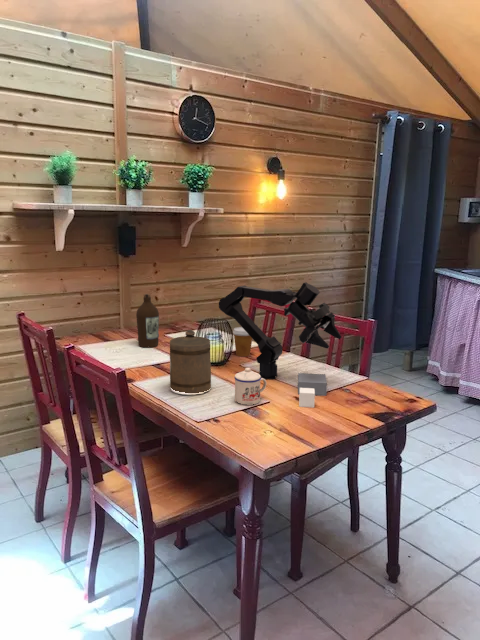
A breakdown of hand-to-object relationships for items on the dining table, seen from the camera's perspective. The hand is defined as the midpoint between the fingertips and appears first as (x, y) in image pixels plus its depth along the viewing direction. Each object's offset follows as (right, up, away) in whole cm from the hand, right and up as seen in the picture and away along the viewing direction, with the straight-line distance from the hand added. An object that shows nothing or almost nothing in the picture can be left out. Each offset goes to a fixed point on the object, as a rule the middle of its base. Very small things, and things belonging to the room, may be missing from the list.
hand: (334, 342), depth 179 cm
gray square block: (-8, -18, +3) cm, 20 cm away
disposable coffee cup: (-33, -8, +47) cm, 58 cm away
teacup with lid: (-30, -20, -7) cm, 37 cm away
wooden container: (-52, -17, +3) cm, 55 cm away
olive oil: (-78, -4, +61) cm, 99 cm away
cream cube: (-12, -20, -11) cm, 26 cm away
